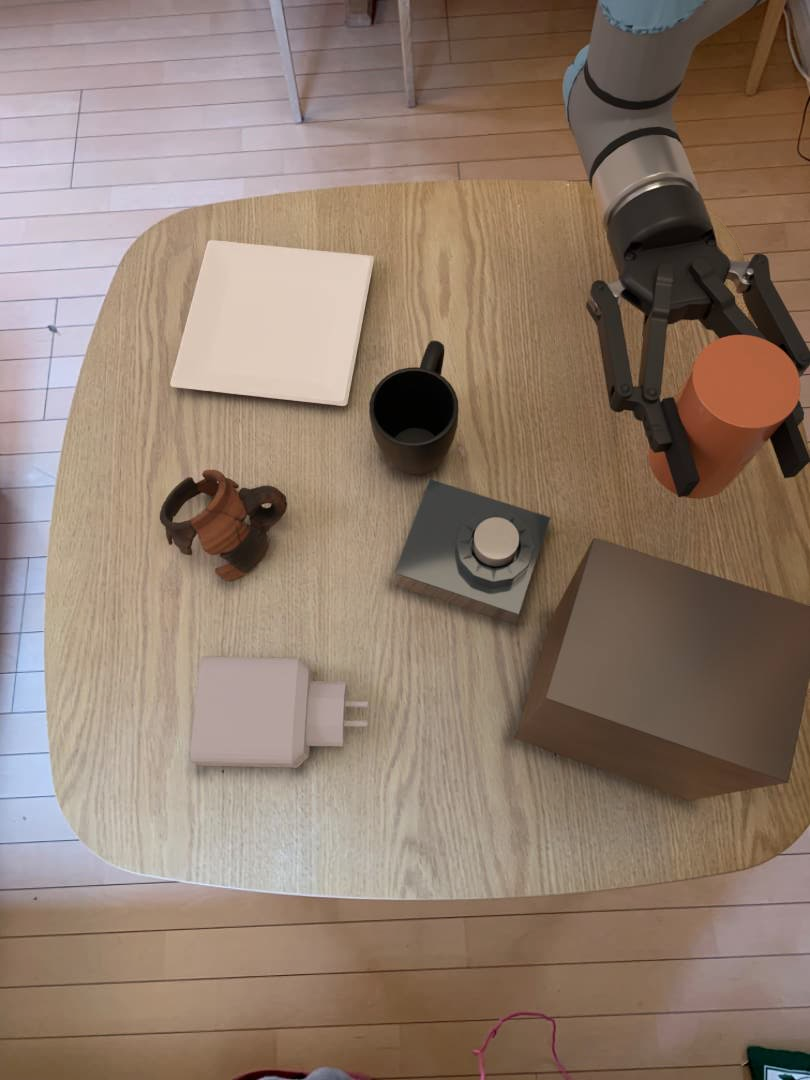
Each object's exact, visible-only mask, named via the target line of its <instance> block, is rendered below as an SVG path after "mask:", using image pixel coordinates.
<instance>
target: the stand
mask: <svg viewBox="0 0 810 1080" xmlns="http://www.w3.org/2000/svg"><path fill="white" fill-rule="evenodd" d="M546 630H547V631H546V634H545V637H544V640H543V644H542V647H541V650H540V653H539V657H538V659H537V663H536V666H535V670H534V673H533V676H532V679H531V682H530V686H529V689H528V692H527V695H526V699H525V701H524V705H523V708H522V712H521V715H520V718H519V721H518V724H517V728H516V731H515V733H514V737H513V738H514V740H517V741H520V742H523V743H525V744H528V745H531V746H534V747H537V748H540V749H542V750H545V751H547V752H551V753H553V754H557V755H560V756H563V757H565V758H567V759H570V760H573V761H575V762H580V763H582V764H585V765H588V766H591V767H593V768H596V769H598V770H602V771H603V772H604V771H605V772H608V773H609V774H612V775H616V776H619V777H620V778H624V779H627V780H630V781H632V782H635V783H638V784H641V785H644V786H647V787H649V788H652V789H655V790H658V791H661V792H663V793H667V794H669V795H672V796H675V797H677V798H680V799H682V800H686V801H688V802H689V801H694V800H695V801H696V800H700V799H704V798H712V797H716V796H723V795H729V794H732V793H733V794H734V793H738V792H745V791H750V790H755V789H761V788H767V787H773V786H779V785H783V784H784V785H785V784H787V783H789V782H790V776H791V771H792V768H793V767H792V766H793V762H794V758H795V757H794V756H795V753H796V752H795V751H796V747H797V742H798V737H799V732H800V727H801V723H802V719H803V718H802V717H803V714H804V713H803V712H804V706H805V703H806V698H807V692H808V687H809V683H810V605H809V604H805V603H802V602H799V601H796V600H793V599H790V598H786V597H784V596H780V595H777V594H774V593H772V592H768V591H764V590H762V589H759V588H755V587H752V586H749V585H746V584H742V583H740V582H736V581H733V580H730V579H727V578H724V577H721V576H718V575H714V574H711V573H708V572H705V571H702V570H699V569H696V568H692V567H689V566H687V565H683V564H681V563H677V562H674V561H671V560H667V559H665V558H661V557H657V556H655V555H651V554H649V553H646V552H643V551H639V550H635V549H633V548H629V547H627V546H626V547H625V546H623V545H621V544H617V543H614V542H611V541H608V540H605V539H602V538H598V537H595V536H594V537H592V540H591V542H590V543H589V545H588V548H587V550H586V551H585V553H584V555H583V557H582V558H581V561H580V563H579V564H578V566H577V568H576V570H575V572H574V574H573V576H572V578H571V580H570V582H569V583H568V585H567V587H566V589H565V591H564V592H563V595H562V597H561V598H560V600H559V602H558V604H557V606H556V608H555V610H554V612H553V613H552V615H551V618H550V621H549V624H548V627H547V629H546Z"/></svg>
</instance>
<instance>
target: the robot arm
mask: <svg viewBox="0 0 810 1080" xmlns="http://www.w3.org/2000/svg"><path fill="white" fill-rule="evenodd" d="M766 1H767V0H597V3H596V8H595V14H594V18H593V23H592V29H591V33H590V39H589V44H587V45H586V46H584V47H583V48H582V49H581V50H579V52H578V53H577V54H576V56H575V58H574V60H573V61H572V63H571V64H570V65H569V66H567V69H566V70H565V73H564V75H563V79H562V97H563V101H564V106H565V118H566V121H567V122H568V127H569V129H570V131H571V133H572V136H573V138H574V140H575V143H576V146H577V150H578V153H579V154H580V159H581V162H582V164H583V168H584V171H585V173H586V176H587V179H588V183H589V185H590V189H591V192H592V195H593V199H594V203H595V205H596V209H597V211H598V215H599V218H600V221H601V224H602V227H603V230H604V231H605V232H606V240H607V244H608V247H609V250H610V254H611V256H612V259H613V262H614V266H615V268H616V271H617V273H618V279H615V280H614V281H611V282H608V283H607V282H606V281H604V280H600V279H597V280H595V281H593V283H592V284H591V287H590V290H589V293H588V297H587V300H586V303H585V307H586V310H587V312H588V313H589V315H590V317H591V318H592V320H593V322H594V323H595V325H596V328H597V334H598V341H599V347H600V354H601V361H602V366H603V372H604V373H603V374H604V379H605V385H606V392H607V398H608V405H609V409H610V410H611V411H612V412H614V413H622V412H624V411H629V412H632V413H633V418H634V419H635V420H637V421H639V422H641V423H642V427H643V430H644V433H645V435H646V439H647V443H648V447H649V446H650V448H651V449H652V450H653V452H654V453H658V452H664V453H665V456H666V459H667V462H668V465H669V469H670V472H671V475H672V478H673V481H674V485H675V488H676V491H677V494H678V495H677V494H676V495H677V498H685V497H684V496H689V495H690V494H691V492H692V491H693V490H694V488H695V487H696V486H697V484H698V483H699V482H700V477H699V474H698V471H697V468H696V465H695V462H694V459H693V456H692V453H691V450H690V446H689V443H688V440H687V437H686V434H685V431H684V428H683V425H682V422H681V419H680V416H679V413H678V410H677V407H676V403H675V400H674V398H675V397H674V396H669V397H664V398H662V400H661V395H662V385H663V374H664V363H665V353H666V352H665V351H666V342H667V333H668V332H667V330H668V325H673V324H675V323H678V322H680V321H697V320H698V321H699V322H700V323H701V325H702V326H703V327H704V328H705V329H706V330H708V331H713V333H714V334H715V335H716V336H717V338H718V339H720V338H723V337H727V336H731V335H750V336H755V337H759V338H762V339H765V340H767V341H769V342H771V343H773V344H774V345H776V346H777V347H779V348H780V349H781V350H783V351H784V352H785V353H786V354H787V355H788V356H789V358H790V359H791V360H792V362H793V363H794V365H795V367H796V369H797V371H798V374H799V377H800V378H801V377H802V376H803V375H804V374H805V372H806V371H807V369H808V368H810V349H809V346H808V345H807V343H806V341H805V339H804V337H803V335H802V334H801V331H800V330H799V328H798V327H797V325H796V323H795V321H794V319H793V318H792V316H791V314H790V312H789V310H788V309H787V306H786V305H785V303H784V301H783V299H782V297H781V296H780V294H779V291H778V290H777V288H776V286H775V285H774V283H773V280H772V278H771V271H770V263H769V262H770V261H769V258H768V256H767V255H765V254H763V253H756V254H754V255H753V256H752V257H751V260H750V261H745V260H730V257H729V256H728V255H727V254H725V253H724V252H723V251H722V249H720V247H719V246H718V242H717V238H716V232H715V229H714V225H713V223H712V220H711V216H710V215H709V211H708V208H707V207H706V204H705V201H704V198H703V197H702V196H703V195H702V194H701V193H700V189H699V185H698V182H697V178H696V177H695V174H694V171H693V168H692V166H691V164H690V161H689V159H688V156H687V154H686V151H685V148H684V145H683V143H682V140H681V137H680V135H679V132H678V129H677V126H676V122H675V121H674V117H673V107H674V104H675V102H676V98H677V96H678V92H679V91H680V88H681V86H682V83H683V80H684V78H685V74H686V72H687V68H688V65H689V63H690V60H691V57H692V54H693V52H694V49H696V47H697V46H698V44H700V42H702V41H704V40H706V39H707V38H708V37H710V36H712V35H713V34H715V33H717V32H718V31H720V30H721V29H723V28H724V27H726V26H728V25H729V24H731V23H732V22H734V21H736V20H737V19H738V18H740V17H741V16H743V15H744V14H747V13H749V11H751V10H753V9H755V8H756V7H757V6H759V5H760V4H763V3H764V2H766ZM726 280H728V281H731V282H732V283H733V284H734V287H735V293H737V294H742V299H743V302H744V304H745V307H746V309H747V311H748V313H749V315H750V317H751V318H752V321H753V322H752V321H751V319H750V318H749V317H748V315H746V313H744V311H743V310H742V308H740V306H738V305H737V302H736V296H735V294H734V293H733V291H731V290H730V289H729V288H728V286H727V285H726V284H725V282H726ZM623 299H624V300H625V301H626V302H627V303H629V304H630V305H632V306H633V307H634V308H636V310H639V312H641V313H643V323H642V331H641V337H642V342H641V351H640V352H641V353H640V361H639V372H638V381H637V386H634V383H633V377H632V371H631V366H630V360H629V354H628V347H627V342H626V336H625V331H624V324H623V318H622V312H621V304H622V302H623ZM804 420H805V411H804V408H803V406H802V404H801V401H800V399H799V400H798V403H797V405H796V407H795V408H794V409H793V411H792V412H791V413H790V415H789V416H788V417H787V418H786V419H785V421H784V422H783V423H782V424H781V425H780V426H779V428H778V429H777V430H776V431H775V432H774V434H773V435H772V436H771V437H770V438H769V440H770V443H771V445H772V449H773V451H774V454H775V457H776V459H777V462H778V465H779V468H780V470H781V473H782V476H783V478H784V479H791V478H795V477H796V476H797V475H799V473H800V472H801V471H803V469H804V468H805V467H807V465H808V464H809V463H810V454H809V452H808V449H807V447H806V444H805V441H804V438H803V436H802V433H801V431H800V427H799V425H800V424H801V423H802V422H803V421H804Z"/></svg>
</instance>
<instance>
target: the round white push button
mask: <svg viewBox="0 0 810 1080" xmlns="http://www.w3.org/2000/svg"><path fill="white" fill-rule="evenodd" d="M518 544H519V534H518V531H517V529H516V527H515V526H514V525H513V524H512V523H511V522H510V521H508V520H506V519H503V518H498V517H494V518H489V519H486V520H484V521H483V522H481V523H480V524H479V525H478V527H477V528H476V530H475V533H474V540H473V550H474V553H475V555H476V557H477V558H478V559H479V560H480V561H481V562H482V563H484V564H486V565H489V566H494V567H497V566H503V565H505V564H507V563H509V562H510V561H511V560H512V559H513V558H514V556H515V554H516V551H517V548H518Z"/></svg>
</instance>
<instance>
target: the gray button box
mask: <svg viewBox="0 0 810 1080" xmlns="http://www.w3.org/2000/svg"><path fill="white" fill-rule="evenodd" d="M494 517H498V518H503V519H506V520H508V521H510V522H511V523H512V524H513V525H514V526H515V527H516V529H517V531H518V534H519V544H518V548H517V551H516V554H515V556H514V558H513V559H512V560H511V561H510V562H509V563H507V564H505V565H503V566H497V567H494V566H489V565H486V564H484V563H482V562H481V561H480V560H479V559H478V558H477V557H476V555H475V553H474V550H473V540H474V533H475V530H476V528H477V527H478V525H479V524H480V523H481V522H483V521H484V520H486V519H489V518H494ZM550 521H551V517H550V516H547V515H545V514H541V513H538V512H535V511H532V510H528V509H525V508H522V507H519V506H517V505H513V504H509V503H506V502H504V501H501V500H497V499H494V498H490V497H489V496H484V495H483V494H482V495H481V494H478V493H475V492H471V491H469V490H466V489H463V488H460V487H456V486H453V485H450V484H447V483H443V482H440V481H437V480H435V479H431V478H430V479H429V480H428V483H427V485H426V487H425V491H424V493H423V496H422V498H421V501H420V504H419V506H418V510H417V512H416V515H415V516H414V520H413V522H412V524H411V528H410V530H409V533H408V536H407V538H406V540H405V544H404V546H403V548H402V551H401V554H400V556H399V558H398V562H397V564H396V567H395V570H394V572H393V574H394V581H395V586H396V587H400V588H403V589H405V590H407V591H411V592H413V593H418V594H420V595H422V596H426V597H429V598H432V599H435V600H437V601H441V602H443V603H447V604H449V605H452V606H456V607H459V608H462V609H464V610H467V611H470V612H474V613H476V614H480V615H482V616H486V617H488V618H491V619H495V620H497V621H501V622H503V623H506V624H509V625H512V626H516V624H517V621H518V619H519V617H520V614H521V610H522V608H523V604H524V601H525V599H526V596H527V592H528V589H529V586H530V583H531V581H532V576H533V573H534V571H535V568H536V565H537V561H538V558H539V555H540V552H541V549H542V545H543V544H544V540H545V537H546V534H547V530H548V527H549V524H550Z"/></svg>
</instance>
